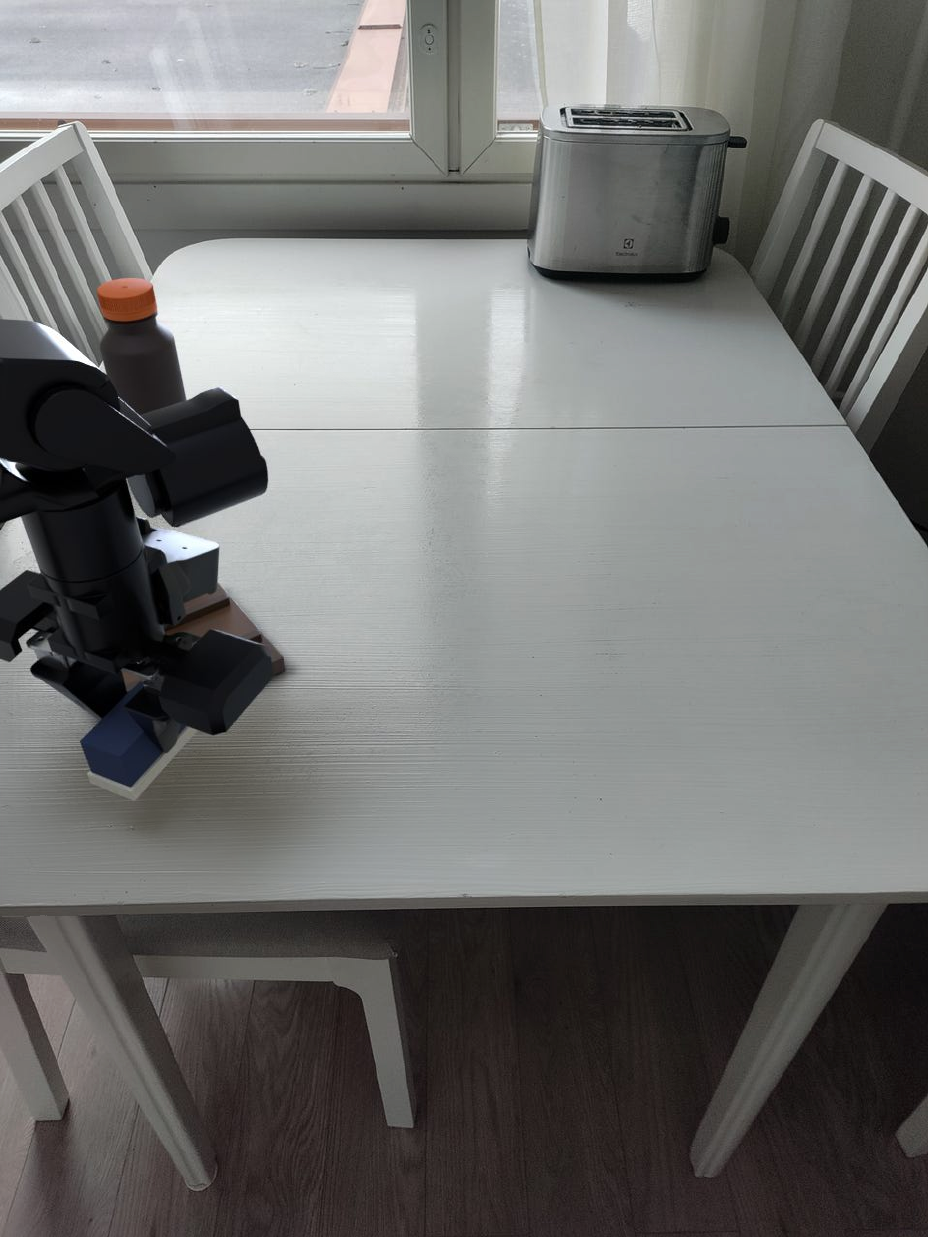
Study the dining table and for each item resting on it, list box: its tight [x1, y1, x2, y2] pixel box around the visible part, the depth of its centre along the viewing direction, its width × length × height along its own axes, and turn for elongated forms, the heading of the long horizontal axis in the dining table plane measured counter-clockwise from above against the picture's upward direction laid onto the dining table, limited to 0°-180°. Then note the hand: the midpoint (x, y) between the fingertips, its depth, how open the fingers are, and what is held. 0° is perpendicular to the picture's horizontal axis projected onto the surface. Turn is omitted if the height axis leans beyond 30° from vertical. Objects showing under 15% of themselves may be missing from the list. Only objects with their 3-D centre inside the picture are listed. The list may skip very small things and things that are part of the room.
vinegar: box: [96, 277, 188, 415], centre depth 93 cm, size 7×7×20 cm
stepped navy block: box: [79, 681, 198, 802], centre depth 64 cm, size 8×4×4 cm, turn 157°
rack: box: [122, 581, 287, 694], centre depth 77 cm, size 14×12×2 cm
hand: (148, 740), depth 64 cm, fingers closed on stepped navy block, 3 cm apart
